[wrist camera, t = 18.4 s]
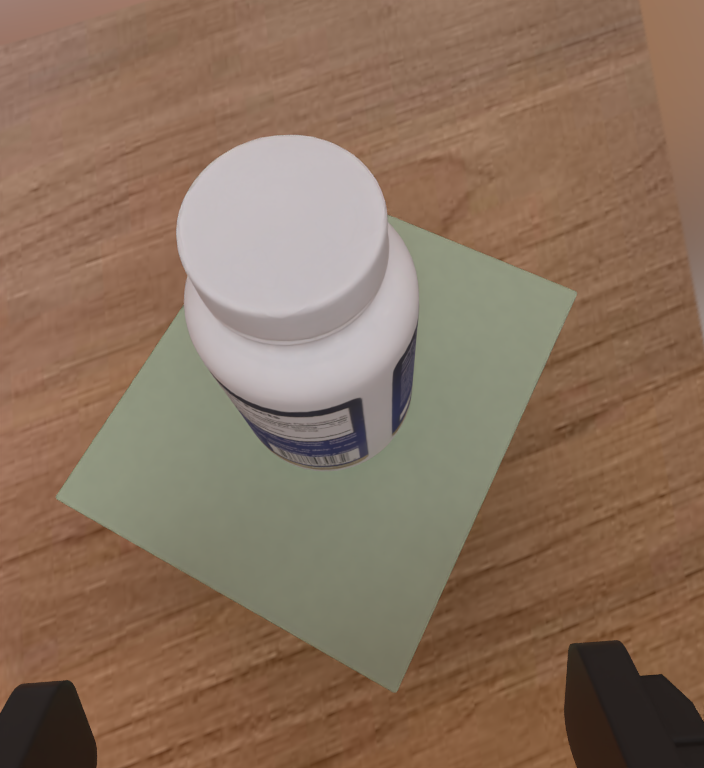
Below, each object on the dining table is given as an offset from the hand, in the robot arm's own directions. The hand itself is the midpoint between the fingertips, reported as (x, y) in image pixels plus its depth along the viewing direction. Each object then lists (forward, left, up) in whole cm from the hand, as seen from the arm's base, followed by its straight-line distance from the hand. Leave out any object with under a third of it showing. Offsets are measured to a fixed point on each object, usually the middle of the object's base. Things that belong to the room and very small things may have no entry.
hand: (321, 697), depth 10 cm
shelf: (+4, -7, -18) cm, 20 cm away
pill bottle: (+4, -7, -8) cm, 12 cm away
